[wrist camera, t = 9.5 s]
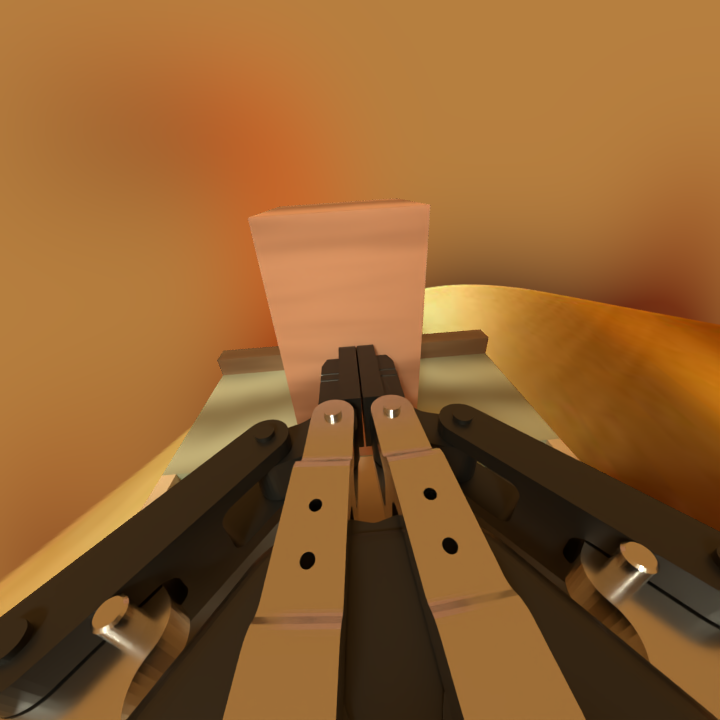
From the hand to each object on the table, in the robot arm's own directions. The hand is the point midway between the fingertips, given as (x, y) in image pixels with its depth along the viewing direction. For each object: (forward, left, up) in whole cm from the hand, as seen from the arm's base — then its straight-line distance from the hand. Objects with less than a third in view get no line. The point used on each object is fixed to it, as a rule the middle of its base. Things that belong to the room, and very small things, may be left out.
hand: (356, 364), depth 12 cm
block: (-2, -3, -6) cm, 7 cm away
